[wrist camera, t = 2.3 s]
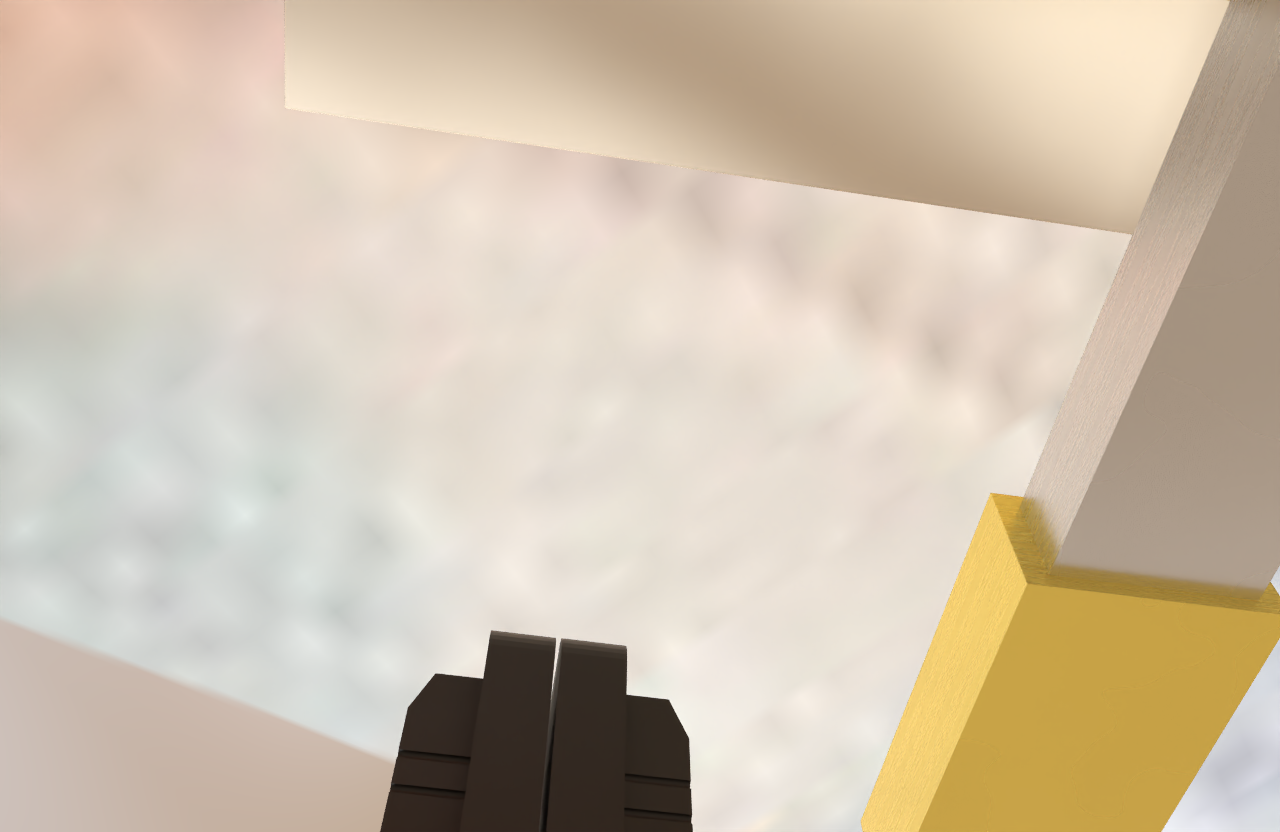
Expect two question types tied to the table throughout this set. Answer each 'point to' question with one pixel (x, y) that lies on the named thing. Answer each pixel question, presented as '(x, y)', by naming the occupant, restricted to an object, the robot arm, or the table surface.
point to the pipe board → (790, 88)
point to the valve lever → (1128, 516)
